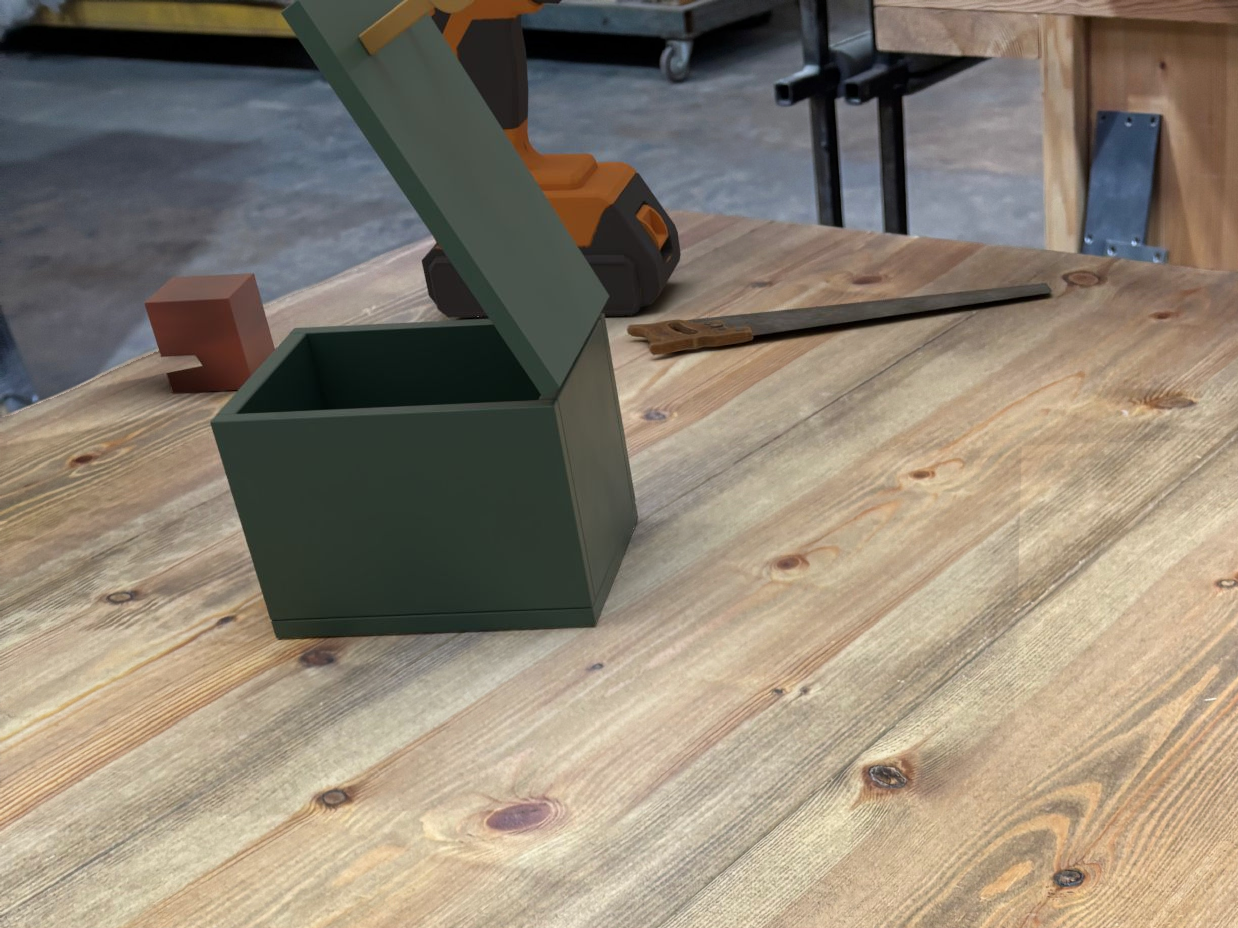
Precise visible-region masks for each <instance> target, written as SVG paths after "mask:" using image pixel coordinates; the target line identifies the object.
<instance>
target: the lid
mask: <svg viewBox="0 0 1238 928" xmlns="http://www.w3.org/2000/svg"><path fill="white" fill-rule="evenodd" d="M473 1H475V0H294V1H293V2H292V3H290V4H289V5H287V6H286V7H285V8H284V9H282V10H281V11H280V14H281V16H282V17H283V19H284V20H285V22H286V23H287V24H288V26H289V28H290V29H291V30H292V32H293V33H294V35H295V37H296V38H297V40H298V41H299V42H300V43H301V45H302V47H303V48H304V50H305V51H306V52H307V54H308V55H309V57H310V58H311V59H312V61H313V63H314V65H315V66H316V67H317V69H318V70H319V72H320V73H321V74H322V76H323V78H324V79H325V80H326V81H327V83H328V85H329V86H330V88H331V89H332V90H333V93H335V95H336V96H337V98H338V99H339V101H340V102H341V103H342V105H343V106H344V108H345V110H346V111H347V112H348V114H349V116H350V117H351V118H352V120H353V121H354V123H355V124H356V126H357V127H358V129H359V130H360V132H361V133H362V134H363V136H364V138H365V139H366V140H367V142H368V143H369V145H370V146H371V148H372V149H373V150H374V152H375V153H376V155H377V156H378V158H379V159H380V161H381V162H382V164H383V166H384V167H385V168H386V170H387V171H388V173H389V174H390V176H391V177H392V179H393V180H394V181H395V182H396V184H397V186H398V187H399V189H400V190H401V192H402V193H403V194H404V196H405V197H406V199H407V201H408V202H409V203H410V205H411V206H412V207H413V209H414V210H415V212H416V214H417V215H418V216H419V218H420V219H421V221H422V223H423V224H424V226H425V227H426V229H428V231H429V232H430V234H431V236H432V237H433V239H434V238H435V239H434V241H435V240H436V241H437V243H438V244H439V246H440V247H441V249H442V250H443V252H444V253H445V254H446V256H447V257H448V259H449V260H450V262H451V263H452V265H453V266H454V268H455V269H456V271H457V272H458V274H459V275H460V276H461V278H462V279H463V281H464V282H465V284H466V285H467V287H468V288H469V290H470V291H471V293H472V294H473V295H474V297H475V298H476V300H477V301H478V303H479V304H480V306H481V307H482V309H483V310H484V312H485V313H486V315H487V316H488V317H487V318H488V319H490V320H491V322H492V323H493V325H494V326H495V328H496V329H497V331H498V332H499V334H500V335H501V337H502V338H503V339H504V341H505V342H506V344H507V345H508V347H509V348H510V350H511V351H512V353H513V354H514V356H515V357H516V358H517V360H518V361H519V363H520V364H521V366H522V367H523V369H524V370H525V372H526V373H527V375H528V376H529V378H530V379H531V380H532V382H533V383H534V385H535V386H536V388H537V389H538V391H539V392H540V394H541V395H542V397H543V398H545V397H546V396H548V395H550V394H551V393H553V392H554V391H556V390H557V389H559V388H560V386H561V384H562V382H563V380H564V379H565V377H566V375H567V373H568V371H569V369H570V368H571V366H572V364H573V362H574V360H575V358H576V357H577V355H578V353H579V351H580V349H581V347H582V346H583V344H584V342H585V340H586V338H587V337H588V335H589V333H590V331H591V329H592V327H593V326H594V324H595V322H596V320H597V318H598V316H599V315H600V313H601V311H602V309H603V307H604V305H605V304H606V302H607V300H608V298H609V295H608V293H607V291H606V290H605V288H604V287H603V285H602V284H601V282H600V281H599V279H598V277H597V276H596V274H595V273H594V271H593V270H592V268H591V266H590V265H589V263H588V262H587V260H586V259H585V257H584V256H583V254H582V252H581V251H580V249H579V248H578V246H577V245H576V243H575V241H574V240H573V238H572V237H571V235H570V234H569V232H568V231H567V229H566V227H565V226H564V224H563V223H562V221H561V220H560V218H559V216H558V215H557V213H556V212H555V210H554V209H553V207H552V206H551V204H550V202H549V201H548V199H547V198H546V196H545V195H544V193H543V191H542V190H541V188H540V187H539V185H538V184H537V182H536V181H535V179H534V177H533V176H532V174H531V173H530V171H529V170H528V168H527V166H526V165H525V163H524V162H523V160H522V159H521V157H520V156H519V154H518V152H517V151H516V149H515V148H514V146H513V145H512V143H511V141H510V140H509V138H508V137H507V135H506V134H505V132H504V131H503V129H502V127H501V126H500V124H499V123H498V121H497V120H496V118H495V116H494V115H493V113H492V112H491V110H490V109H489V107H488V106H487V104H486V102H485V101H484V99H483V98H482V96H481V95H480V93H479V91H478V90H477V88H476V87H475V85H474V84H473V82H472V81H471V79H470V77H469V76H468V74H467V73H466V71H465V70H464V68H463V66H462V65H461V63H460V62H459V60H458V59H457V57H456V56H455V54H454V52H453V51H452V49H451V48H450V46H449V45H448V43H447V41H446V40H445V38H444V37H443V35H442V34H441V32H440V31H439V29H438V27H437V26H436V24H435V23H434V21H433V20H432V18H431V16H430V15H429V12H430V11H431V10H433V9H434V8H435V7H436V8H437V9H439V10H441V11H443V12H445V13H451V14H453V13H459V12H461V11H463V10H464V9H465V8H467V7H468V6H469V5H470V4H471V3H472V2H473ZM436 241H435V242H436Z"/></svg>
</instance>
